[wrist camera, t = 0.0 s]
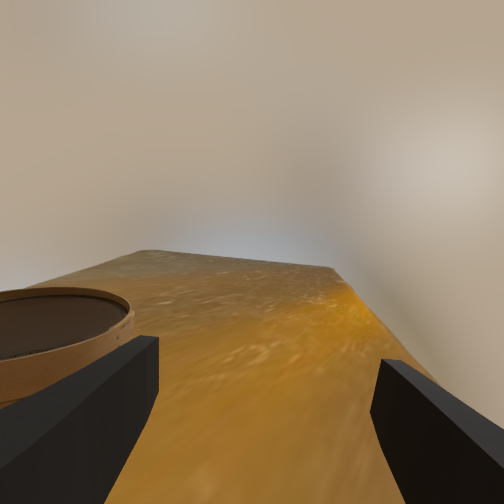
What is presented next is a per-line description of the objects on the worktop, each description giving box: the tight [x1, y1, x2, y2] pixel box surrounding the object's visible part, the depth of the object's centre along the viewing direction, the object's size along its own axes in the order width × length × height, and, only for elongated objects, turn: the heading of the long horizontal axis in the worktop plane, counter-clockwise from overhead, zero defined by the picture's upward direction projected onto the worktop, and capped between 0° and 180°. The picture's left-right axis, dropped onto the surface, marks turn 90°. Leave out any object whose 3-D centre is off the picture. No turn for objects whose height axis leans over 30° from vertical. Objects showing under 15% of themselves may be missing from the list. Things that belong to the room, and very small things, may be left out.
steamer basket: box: [0, 287, 135, 409], centre depth 38 cm, size 25×25×11 cm
